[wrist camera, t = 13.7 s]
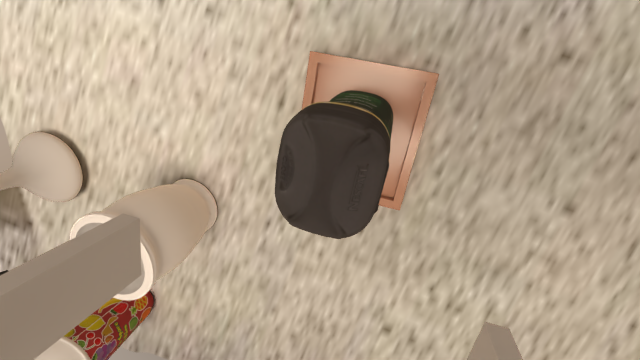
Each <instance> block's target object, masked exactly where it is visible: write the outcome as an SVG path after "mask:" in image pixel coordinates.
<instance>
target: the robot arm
mask: <svg viewBox="0 0 640 360" xmlns="http://www.w3.org/2000/svg"><path fill="white" fill-rule="evenodd" d="M141 275H142V271H141V241H140V218H137V217H134V216H130V215H127V214H124V213H123V214H121V215H119V216H117V217H115V218H113V219H111V220H109V221H107V222H105V223H103V224H101V225H99V226H97V227H95V228H93V229H91V230H89V231H87V232H85V233H83V234H81V235H79V236H77V237H75V238H73V239H71V240H69V241H67V242H65V243H63V244H61V245H60V246H58V247H56V248H54V249H52V250H50V251H48V252H46V253H44V254H42V255H40V256H38V257H36V258H34V259H32V260H30V261H28V262H26V263H24V264H22V265H20V266H18V267H16V268H14V269H12V270H10V271H8V270H6V271H3V272H0V360H34V359H35V358H36V357H38V356H39V355H40V354H42V353H43V352H44V351H45V350H47V349H48V348H49V347H50V346H52V345H53V344H54V343H56V342H57V341H58V340H59V339H61V338H62V337H63V336H64V335H66V334H67V333H68V332H70V331H71V330H72V329H73V328H75V327H76V326H77V325H78V324H80V323H81V322H82V321H84V320H85V319H86V318H87V317H89V316H90V315H91V314H92V313H94V312H95V311H96V310H98V309H99V308H100V307H101V306H103V305H104V304H105V303H106V302H108V301H109V300H110V299H112V298H113V297H114V296H115V295H117V294H118V293H119V292H120V291H122V290H123V289H124V288H126V287H127V286H128V285H129V284H131V283H132V282H133V281H135V280H136V279H137V278H138V277H140V276H141ZM467 360H523V359H522V356H521V354H520V352H519V350H518V347H517V345H516V343H515V341H514V338H513V336H512V334H511V332H510V329H508V328H505V327H501V326H498V325H495V324H491V323H488V322H485V323H484V325H483V327H482V329H481V331H480V333H479V335H478V337H477V339H476V341H475V344H474V346H473V348H472V350H471V352H470V354H469V356H468V358H467Z"/></svg>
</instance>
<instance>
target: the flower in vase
mask: <svg viewBox="0 0 640 360" xmlns="http://www.w3.org/2000/svg"><path fill="white" fill-rule="evenodd" d="M82 182H83V175H82V169H81V166H80V163H79V161H78V159H77V157H76V155H75V154H74V152H73V151H72V150H71V148H70V147H69V146H68V145H67V144H66V143H65V142H63V141H62V140H61V139H59V138H57V137H56V136H53V135H51V134H48V133H45V132H33V133H30V134H28V135H27V136H25V137H23V138H22V139H21V140H20V141H19V143H18V145H17V147H16V149H15V152H14V156H13V161H12V166H11V167H10V168H9V169H8V170H6V171H4V172H1V173H0V190H3V189H7V188H11V187H22V188H25V189H26V190H28V191H30V192H31V193H33V194H35V195H37V196H39V197H41V198H43V199H46V200H49V201H53V202H66V201H69V200H72V199H73V198H74V197H76V195H77V194H78V193H79V191H80V189H81V186H82Z"/></svg>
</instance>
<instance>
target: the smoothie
mask: <svg viewBox="0 0 640 360" xmlns="http://www.w3.org/2000/svg"><path fill="white" fill-rule="evenodd" d="M153 302H154V300H153V296H152V294H151V293H150V291H148V292H147V293H146V294H145V295H144V296H143V297H141V298H139V299H136V300H129V301H127V300H120V299H116V298H112V299H110V300H109V301H108V302H106V303H105V304H104V305H103V306H101V307H100V308H99V309H98V310H96V311H95V312H94V313H92V314H91V315H90V316H89V317H87V318H86V319H85V320H84V321H82V322H81V323H80V324H78V325H77V326H76V327H75V328H73V329H72V330H71V331H70V332H68V333H67V334H66V335H64V336H63V337H62V338H61V339H59V340H58V341H57V342H56V343H54V344H53V345H52V346H50V347H49V348H48V349H47V350H45V351H44V352H43V353H42V354H40V355H39V356H38V357H36V358H35V359H34V360H108V359H109V358H110V357H111V355H112V354H113V353H114V352H115V351H116V350H117V349H118V348H119V347H120V346H121V345H122V343H123V342H124V341H125V340H126V339H127V338H128V337H129V336H130V335H131V333H132V332H133V331H134V330H135V329H136V328H137V327H138V326H139V325H140V324H141V322H142V321H143V320H144V319H145V318H146V317H147V316H148V315H149V313H150V312H151V307H152V306H153Z"/></svg>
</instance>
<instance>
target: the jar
mask: <svg viewBox="0 0 640 360" xmlns="http://www.w3.org/2000/svg"><path fill="white" fill-rule="evenodd" d="M123 213H124V214H127V215H130V216H134V217H137V218H140V241H141V271H142V275H141V276H140V277H138V278H137V279H136V280H135V281H133V282H132V283H131V284H129V285H128V286H127V287H126V288H124V289H123V290H122V291H120V292H119V293H118V294H117V295H115V296H114V297H113V298H116V299H120V300H127V301H129V300H136V299H139V298H141V297H143V296H144V295H145V294H146V293H147V292H148V291H150V290H151V288H152V287H153V286H154V284H155V282H156V280H158V279H160V278H162V277H163V276H165V275H166V274H168V273H169V272H171V271H172V270H173V269H175V268H176V267H177V266H178V265H179V264H181V263H182V262H183V261H184V260H185V259H186V257H187V256H188V255H189V254H190V253H191V251H192V250H193V249H194V247H195V246H196V245H197V244H198V242H199V241H200V240H201V238H202V237H203V235H204V233H205V231H206V230H208V229H209V228H211V227H212V226H213V224H214V223H215V221H216V218H217V205H216V202H215V199H214V197H213V196H212V194H211V193H210V191H209V190H208V189H207V188H206V187H205V186H203V185H202V184H200V183H199V182H197V181H194V180H190V179H181V180H178V181H176V182H174V183H173V184H168V185H161V186H157V187H154V188H150V189H145V190H141V191H138V192H135V193H132V194H130V195H127V196H125V197H123V198H121V199H119V200H117V201H116V202H114V203H112V204H111V205H109V206H108V207H106V208H105V209H104V210H102V211H99V212H92V213H89V214H87V215H85V216H83V217H82V218H80V219H79V220H77V221H76V222H75V224H74V225H73V227H72V229H71V232H70V240H71V239H73V238H75V237H77V236H79V235H81V234H83V233H85V232H87V231H89V230H91V229H93V228H95V227H97V226H99V225H101V224H103V223H105V222H107V221H109V220H111V219H113V218H115V217H117V216H119V215H121V214H123Z"/></svg>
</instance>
